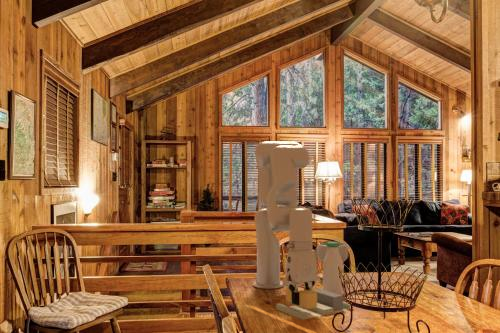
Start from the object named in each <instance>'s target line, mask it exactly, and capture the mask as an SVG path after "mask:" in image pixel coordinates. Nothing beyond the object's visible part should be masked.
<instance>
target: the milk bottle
mask: <svg viewBox="0 0 500 333" xmlns="http://www.w3.org/2000/svg"><path fill="white" fill-rule="evenodd" d="M339 243H340V242H337V241H327V254H326V256H325V259H324V262H322V275H323V279H322V290H326V291H329V292H332V293H336V294H339V295H342V296H344V294H345V292H344V291H345V290H344V291H343V288H342V285H341V281H340V278H339V273H338V267H340V268H341V269H342V270H343V272H344V262H342V259H341V257H340V254H339V250H338V249H339Z"/></svg>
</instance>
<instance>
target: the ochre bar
mask: <svg viewBox="0 0 500 333" xmlns="http://www.w3.org/2000/svg"><path fill="white" fill-rule="evenodd" d="M298 292H299V305H298V306H301V307H304V308H306V309H309V308H314V307H317V292H313V291H312V290H311V291H310V290H307V289H305V287H300V286H298ZM285 302H287V303H289V304H292V294H291V291H290V289H289V288H288V287H287V286H285Z"/></svg>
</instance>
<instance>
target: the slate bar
mask: <svg viewBox="0 0 500 333" xmlns="http://www.w3.org/2000/svg"><path fill="white" fill-rule="evenodd" d="M311 291H313V292H317V303H320V304H323V305H326V306H329V307H332V308H333V309H334V311H338V310H343V301H344V295H339V294H336V293H332V292H329V291H326V290H323V288H320V289H315V290H313V289H312V290H311Z"/></svg>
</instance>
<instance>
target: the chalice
mask: <svg viewBox="0 0 500 333" xmlns="http://www.w3.org/2000/svg"><path fill="white" fill-rule="evenodd" d="M327 242H328V241H327ZM327 242H326V241H325V242H320V243H318V245H317V247H316V251H315V254H316V258H317V259H318V260H319V261H321V262H322V263H323V262H324V259H325V256H326V254H327ZM338 243H339V249H338V250H339V254H340V257H341V259H342V262H343V263H344V262H345V261H347V259H348V258H349V249H348V247H347V245H346V243H343V242H338ZM318 278H319V279H322V280H323V274H320V275H318Z"/></svg>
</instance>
